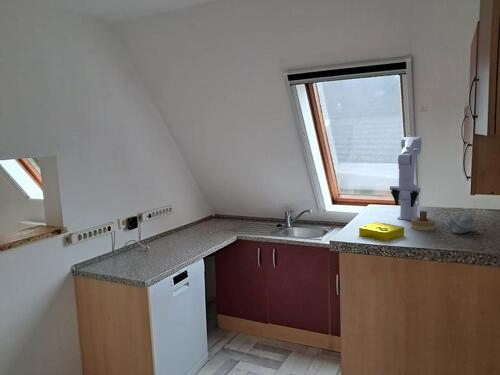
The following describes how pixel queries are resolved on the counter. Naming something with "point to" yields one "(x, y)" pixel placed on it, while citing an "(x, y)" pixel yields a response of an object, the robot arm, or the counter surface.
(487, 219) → the counter surface
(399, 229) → the element tile
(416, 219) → the bead
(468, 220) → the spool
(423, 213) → the peg
